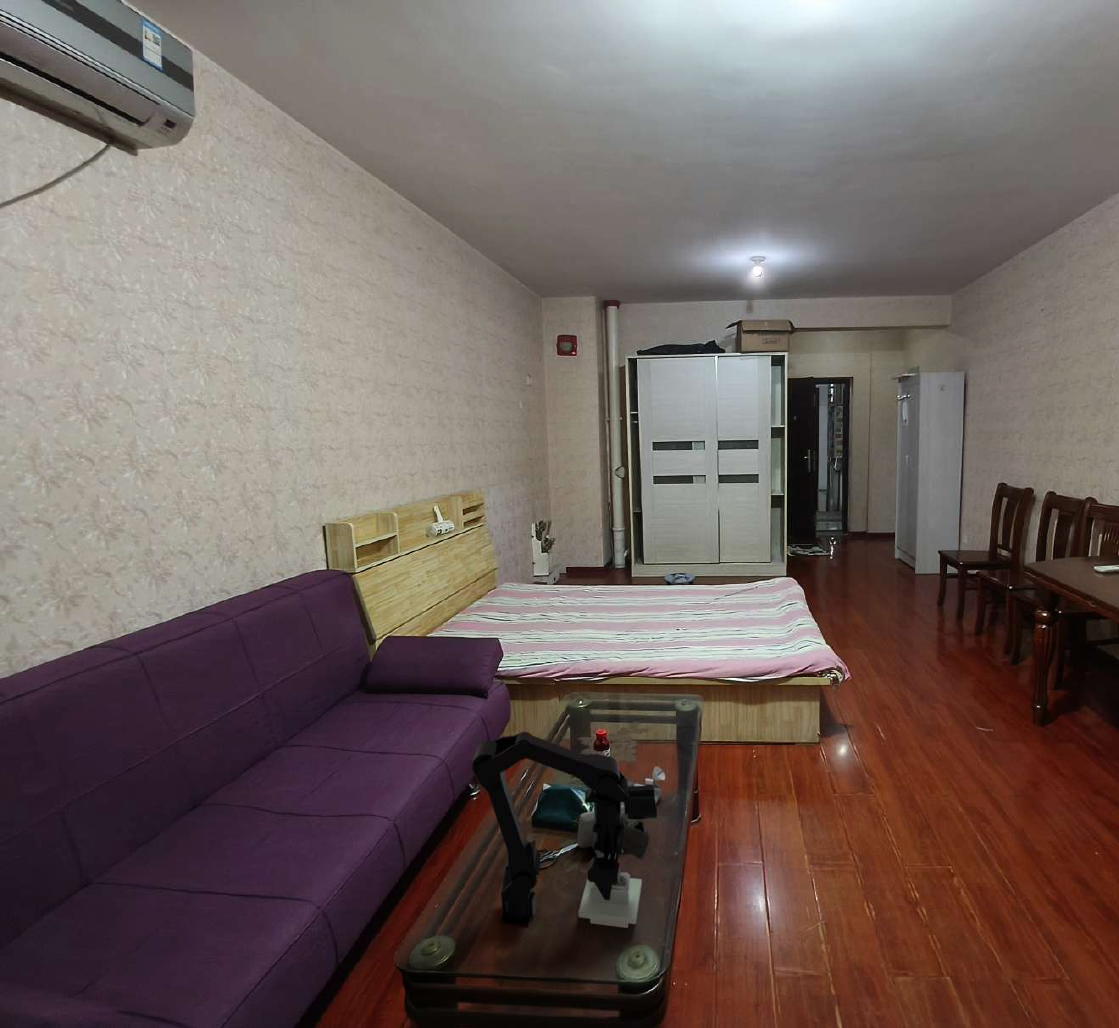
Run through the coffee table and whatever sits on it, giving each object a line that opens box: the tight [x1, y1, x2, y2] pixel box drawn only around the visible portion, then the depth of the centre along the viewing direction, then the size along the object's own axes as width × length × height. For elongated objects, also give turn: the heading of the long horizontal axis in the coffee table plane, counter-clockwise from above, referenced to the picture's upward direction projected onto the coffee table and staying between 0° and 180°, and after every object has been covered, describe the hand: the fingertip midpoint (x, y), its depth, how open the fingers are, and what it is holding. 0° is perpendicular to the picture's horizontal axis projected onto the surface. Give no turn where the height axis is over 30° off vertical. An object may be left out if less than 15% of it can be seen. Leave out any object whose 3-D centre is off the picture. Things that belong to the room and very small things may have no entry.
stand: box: [578, 877, 643, 929], centre depth 143 cm, size 12×12×4 cm
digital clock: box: [576, 805, 640, 858], centre depth 165 cm, size 16×9×11 cm, turn 94°
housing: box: [591, 871, 631, 905], centre depth 143 cm, size 5×8×4 cm, turn 80°
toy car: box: [621, 766, 666, 805], centre depth 185 cm, size 18×10×12 cm
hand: (610, 884), depth 143 cm, fingers open, 9 cm apart
